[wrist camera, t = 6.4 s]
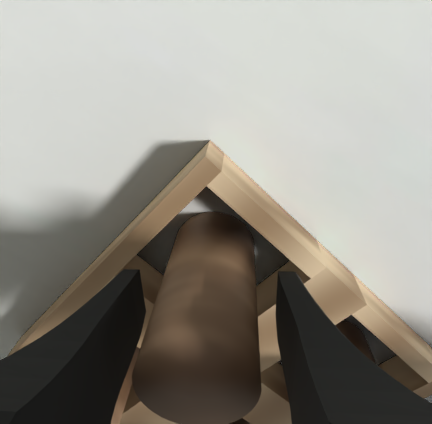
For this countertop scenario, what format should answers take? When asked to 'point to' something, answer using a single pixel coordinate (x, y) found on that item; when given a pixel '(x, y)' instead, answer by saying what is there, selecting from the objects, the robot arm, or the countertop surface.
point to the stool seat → (266, 291)
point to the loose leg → (203, 327)
